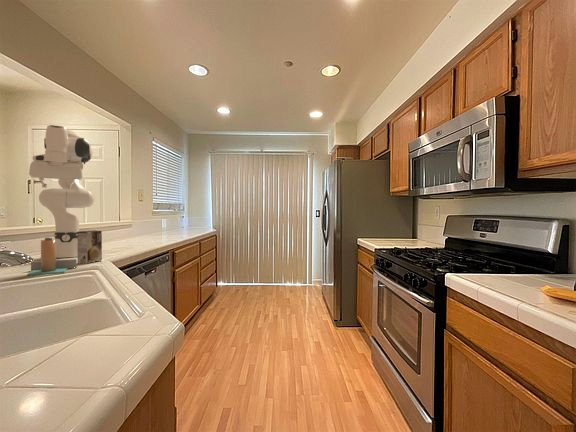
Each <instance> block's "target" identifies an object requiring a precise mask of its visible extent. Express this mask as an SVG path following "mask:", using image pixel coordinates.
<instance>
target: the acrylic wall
mask: <svg viewBox="0 0 576 432" xmlns="http://www.w3.org/2000/svg"><path fill="white" fill-rule="evenodd" d="M74 267H76V268H77V258H75V259H74V258H73V259H71V258H70V259H56V269H59V268H72V269H75V268H74ZM33 270H41V260H37V261H36V260H35V261H30V272H31V271H33Z"/></svg>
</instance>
